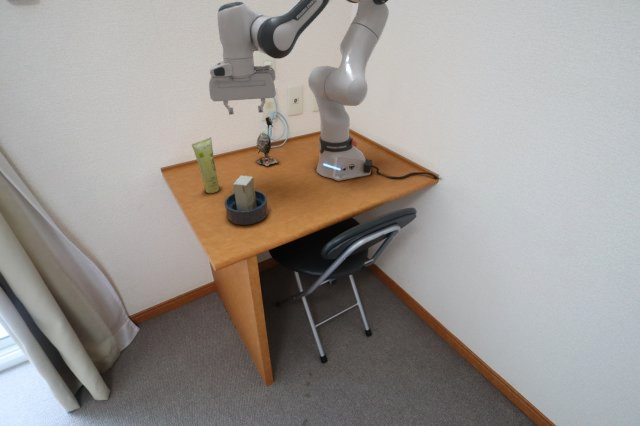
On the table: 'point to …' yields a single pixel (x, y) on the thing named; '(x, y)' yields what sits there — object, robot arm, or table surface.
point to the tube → (206, 164)
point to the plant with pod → (265, 145)
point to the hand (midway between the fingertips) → (246, 112)
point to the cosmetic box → (245, 193)
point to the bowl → (249, 215)
